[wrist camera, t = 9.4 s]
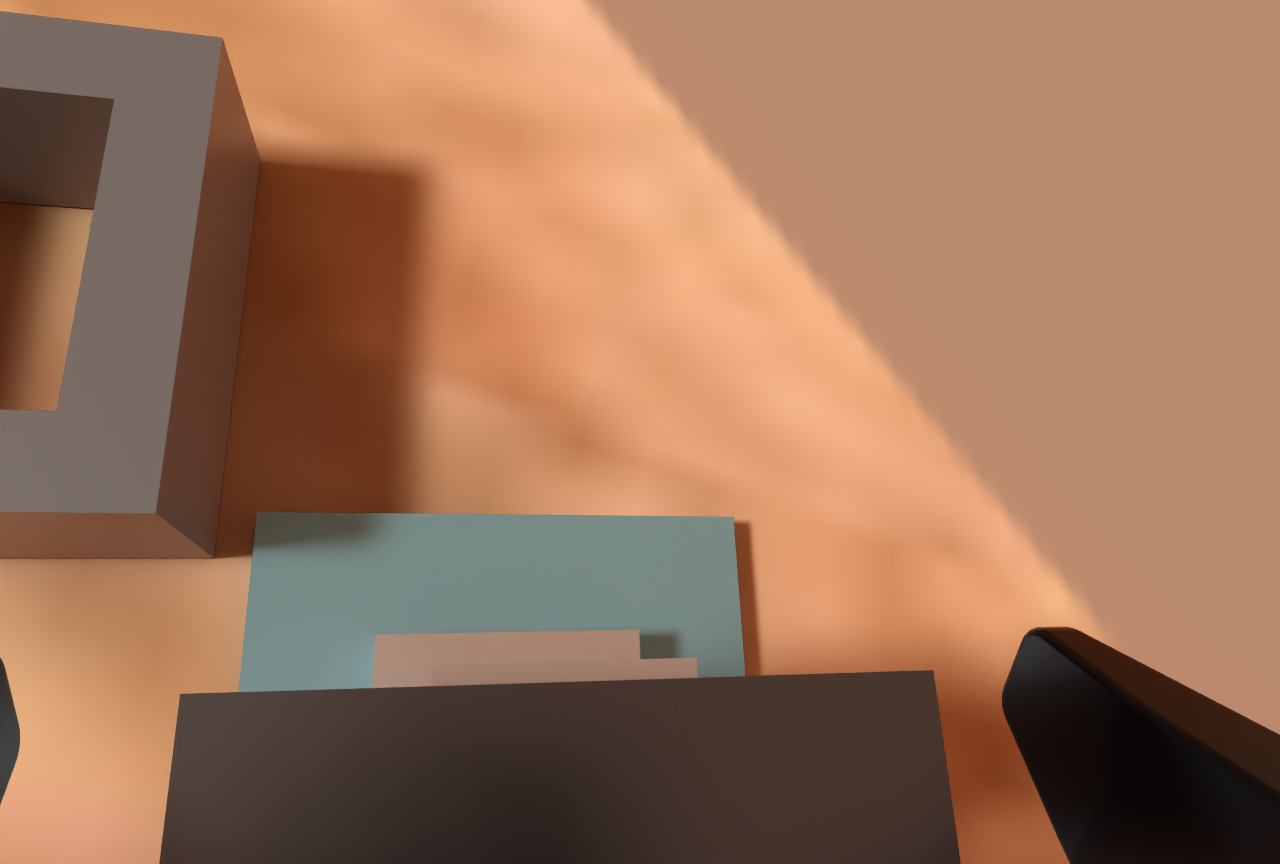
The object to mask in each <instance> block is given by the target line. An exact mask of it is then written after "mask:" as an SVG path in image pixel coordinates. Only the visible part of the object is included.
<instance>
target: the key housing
mask: <svg viewBox="0 0 1280 864" xmlns="http://www.w3.org/2000/svg"><path fill="white" fill-rule="evenodd" d="M259 166H260V157H259V154H258V151H257V148H256V144H255V141H254V138H253V135H252V131H251V128H250V125H249V122H248V119H247V115H246V112H245V109H244V106H243V102H242V99H241V96H240V93H239V90H238V86H237V83H236V80H235V77H234V74H233V70H232V67H231V64H230V61H229V57H228V54H227V51H226V48H225V45H224V41H223V38H220V37H212V36H203V35H195V34H187V33H178V32H170V31H161V30H153V29H145V28H136V27H128V26H120V25H111V24H103V23H95V22H86V21H78V20H69V19H61V18H53V17H44V16H36V15H28V14H19V13H11V12H3V11H0V202H12V203H25V204H38V205H51V206H64V207H76V208H89V209H94V212H93V217H92V223H91V228H90V233H89V239H88V244H87V250H86V255H85V261H84V266H83V271H82V277H81V282H80V288H79V293H78V298H77V304H76V309H75V315H74V320H73V326H72V331H71V336H70V342H69V347H68V353H67V358H66V364H65V369H64V374H63V380H62V385H61V391H60V396H59V402H58V407H57V411H30V410H0V558H214V552H215V543H216V535H217V526H218V518H219V509H220V500H221V492H222V483H223V475H224V466H225V458H226V449H227V440H228V432H229V423H230V415H231V406H232V398H233V389H234V380H235V372H236V363H237V355H238V346H239V338H240V329H241V320H242V312H243V303H244V295H245V286H246V278H247V269H248V260H249V252H250V243H251V235H252V226H253V217H254V209H255V200H256V192H257V183H258V175H259Z"/></svg>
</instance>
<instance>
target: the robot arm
mask: <svg viewBox="0 0 1280 864" xmlns="http://www.w3.org/2000/svg"><path fill="white" fill-rule="evenodd" d="M1002 707H1003V711H1004V715H1005V718H1006V720H1007V722H1008V725H1009V727H1010V729H1011V732H1012V734H1013V736H1014V738H1015V741H1016V743H1017V745H1018V748H1019V750H1020V752H1021V754H1022V757H1023V759H1024V761H1025V764H1026V766H1027V768H1028V770H1029V773H1030V775H1031V777H1032V780H1033V782H1034V784H1035V786H1036V789H1037V791H1038V793H1039V795H1040V798H1041V800H1042V802H1043V805H1044V807H1045V809H1046V811H1047V814H1048V816H1049V818H1050V821H1051V823H1052V825H1053V827H1054V830H1055V832H1056V834H1057V837H1058V839H1059V841H1060V843H1061V845H1062V847H1063V849H1064V852H1065V854H1066V856H1067V858H1068V860H1069V862H1070V864H1280V735H1279V734H1277V733H1275V732H1273V731H1271V730H1269V729H1267V728H1265V727H1264V726H1262V725H1259V724H1258V723H1256V722H1254V721H1252V720H1250V719H1248V718H1246V717H1244V716H1243V715H1240V714H1238V713H1237V712H1235V711H1233V710H1231V709H1229V708H1227V707H1225V706H1223V705H1221V704H1219V703H1217V702H1216V701H1214V700H1212V699H1210V698H1208V697H1206V696H1204V695H1202V694H1200V693H1198V692H1196V691H1194V690H1192V689H1190V688H1188V687H1186V686H1185V685H1183V684H1181V683H1179V682H1177V681H1175V680H1173V679H1171V678H1169V677H1167V676H1165V675H1164V674H1162V673H1160V672H1158V671H1156V670H1154V669H1152V668H1150V667H1148V666H1146V665H1144V664H1142V663H1140V662H1138V661H1137V660H1135V659H1133V658H1131V657H1129V656H1127V655H1125V654H1123V653H1121V652H1119V651H1117V650H1115V649H1113V648H1112V647H1110V646H1108V645H1106V644H1104V643H1102V642H1100V641H1098V640H1096V639H1094V638H1092V637H1090V636H1088V635H1086V634H1085V633H1083V632H1081V631H1079V630H1076V629H1074V628H1070V627H1038V628H1034V629H1031V630H1030V631H1029V632H1028V633H1027V634H1026V635H1025V636H1024V638H1023V639H1022V642H1021V644H1020V647H1019V649H1018V652H1017V655H1016V657H1015V660H1014V662H1013V665H1012V667H1011V670H1010V672H1009V675H1008V678H1007V680H1006V683H1005V685H1004V688H1003V692H1002ZM19 745H20V729H19V724H18V719H17V715H16V711H15V707H14V703H13V699H12V695H11V691H10V686H9V682H8V678H7V674H6V670H5V666H4V664H3V661H2V659H1V658H0V804H1V801H2V799H3V796H4V793H5V790H6V788H7V785H8V782H9V780H10V777H11V774H12V771H13V769H14V766H15V763H16V760H17V756H18V752H19Z"/></svg>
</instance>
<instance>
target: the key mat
mask: <svg viewBox="0 0 1280 864" xmlns="http://www.w3.org/2000/svg"><path fill="white" fill-rule="evenodd" d="M638 629H639V639H640V659H664V658H697V675H698V678H706V677H737V676H745V664H744V651H743V638H742V624H741V611H740V598H739V585H738V572H737V558H736V545H735V532H734V519H733V517H690V516H597V515H503V514H410V513H317V512H257V517H256V527H255V536H254V546H253V556H252V566H251V576H250V585H249V595H248V605H247V615H246V624H245V634H244V644H243V654H242V663H241V673H240V683H239V692H261V691H293V690H324V689H356V688H372V686H373V668H374V650H375V634H425V633H478V632H531V631H585V630H638Z"/></svg>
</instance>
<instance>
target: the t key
mask: <svg viewBox="0 0 1280 864" xmlns="http://www.w3.org/2000/svg"><path fill="white" fill-rule="evenodd" d="M159 864H961V863H960V856H959V849H958V842H957V835H956V828H955V821H954V814H953V807H952V800H951V793H950V786H949V779H948V772H947V765H946V758H945V751H944V744H943V737H942V730H941V723H940V716H939V709H938V702H937V695H936V688H935V681H934V674H933V670H928V671H896V672H865V673H833V674H801V675H769V676H737V677H706V678H698V675H697V658H664V659H640V639H639V629H638V630H585V631H531V632H478V633H425V634H375V650H374V668H373V686H372V688H356V689H324V690H293V691H261V692H229V693H197V694H180V700H179V708H178V716H177V724H176V733H175V741H174V749H173V757H172V765H171V773H170V782H169V790H168V798H167V806H166V814H165V823H164V831H163V839H162V847H161V855H160V863H159Z"/></svg>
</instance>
